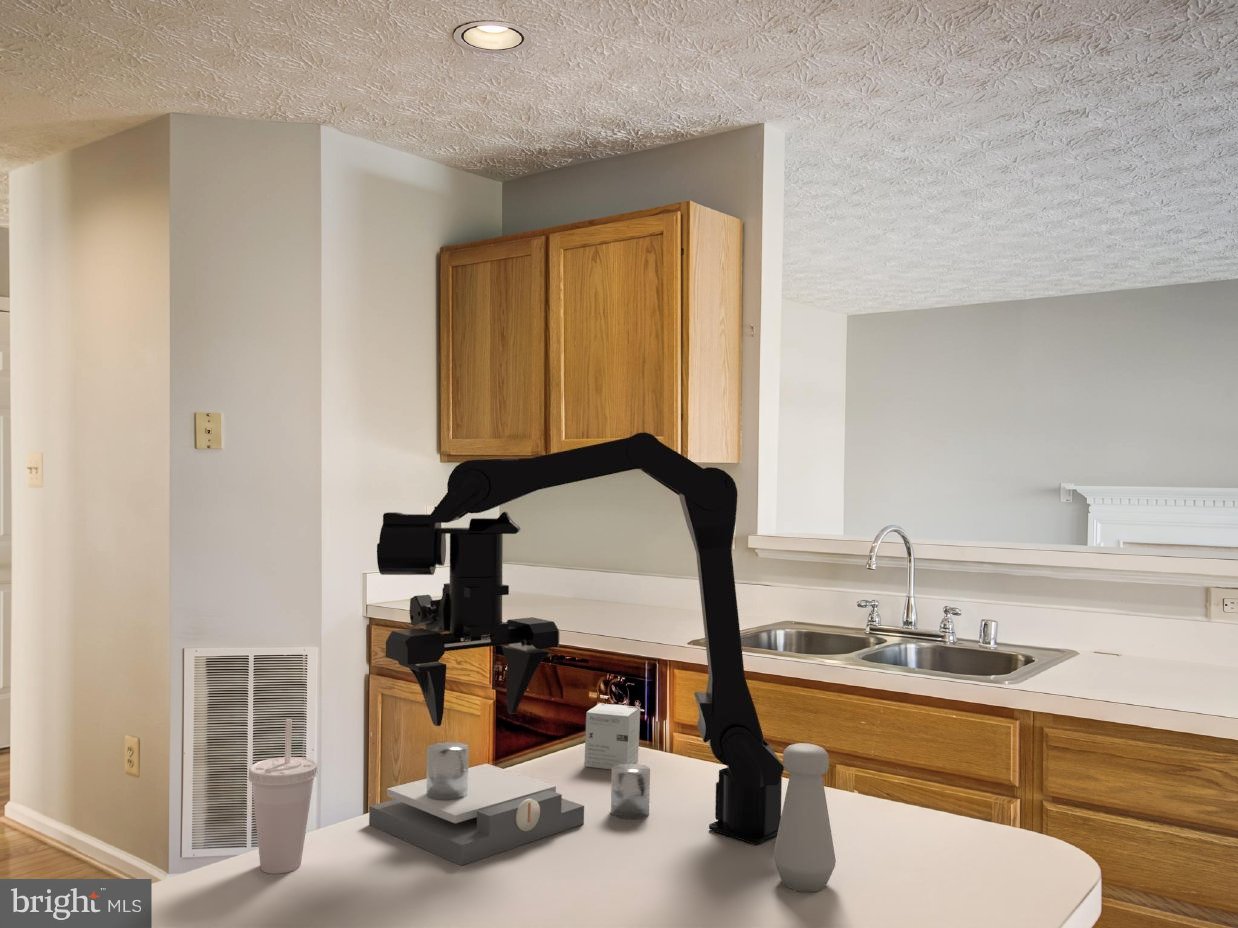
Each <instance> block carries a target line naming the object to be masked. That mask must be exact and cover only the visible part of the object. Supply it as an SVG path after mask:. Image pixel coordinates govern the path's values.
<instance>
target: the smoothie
mask: <svg viewBox="0 0 1238 928" xmlns="http://www.w3.org/2000/svg"><path fill="white" fill-rule="evenodd" d="M292 723H293V721H292V718H287V719H285V733H284V735H285V736H284V738H285V741H284V756H282V757H273V758H269V759H268V758H267V759H263V760H260V761H258V762H255V763H254V764H252V765H250V766H249V769H248V776H247V779H248V781H249V782H251V785H252V796H253V797H252V799H253V805H254V808H253V809H254V817H255V826H256V836H257V847H258V855H259V865H260V866H259V867H260V871H261V872H263V873H267V874H273V875H274V874H277V875H278V874H284V873H286V874H287V873H290V872H293V871H295V870H297V869H299V868H300V867H301V865H302V859H303V853H304V846H305V840H306V832H307V825H308V820H309V812H310V807H311V799H312V792H313V788H314V787H313V785H314V779H315V777H317V776H318V762H316V761H315V760H313V759H311V758H307V757H300V756H299V757H298V756H292V731H293V729H292V728H293V727H292V725H293V724H292Z"/></svg>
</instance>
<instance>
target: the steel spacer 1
mask: <svg viewBox="0 0 1238 928" xmlns="http://www.w3.org/2000/svg"><path fill="white" fill-rule="evenodd" d="M468 768H469V745H468V744H466V743H463V742H457V741H456V742H455V741H446V742H445V741H442V742H437V743H433V744H430V745H428V746H427V747H426V779H427V791H426V795H427V797H428V798H431V799H434V800H455V799H460V798H463V797H465V796H467V794H468Z"/></svg>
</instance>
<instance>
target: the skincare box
mask: <svg viewBox="0 0 1238 928" xmlns="http://www.w3.org/2000/svg"><path fill="white" fill-rule="evenodd" d="M585 716H586V717H585V739H584V740H585V742H584V743H585V744H584V745H585V746H584V764H583V765H584V767H587V768H595V769H596V768H597V769H603V770H612V767H614V766H616V765H619V764H636V762H637V761H639V751H640V750H639V749H640V747H639V745H640V728H641V727H640V724H641V723H640V722H641V721H640V719H641V707H640V706H631V705H623V704H612V703H611V704H609V703H601V702H600V703H598V704H596V705H595V706H594V707H592V708H590V709H588V711H586V715H585Z"/></svg>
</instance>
